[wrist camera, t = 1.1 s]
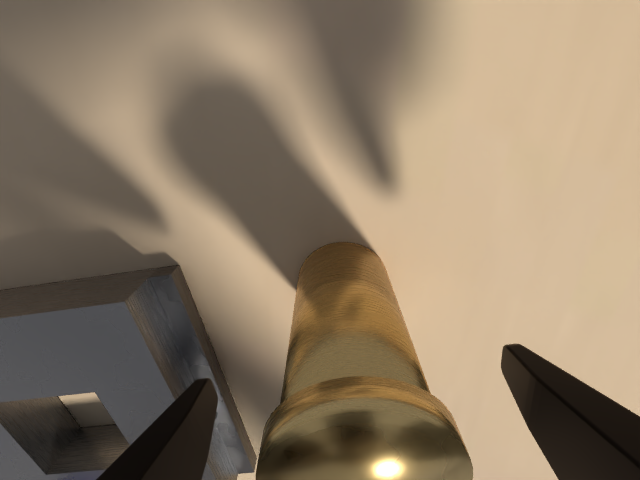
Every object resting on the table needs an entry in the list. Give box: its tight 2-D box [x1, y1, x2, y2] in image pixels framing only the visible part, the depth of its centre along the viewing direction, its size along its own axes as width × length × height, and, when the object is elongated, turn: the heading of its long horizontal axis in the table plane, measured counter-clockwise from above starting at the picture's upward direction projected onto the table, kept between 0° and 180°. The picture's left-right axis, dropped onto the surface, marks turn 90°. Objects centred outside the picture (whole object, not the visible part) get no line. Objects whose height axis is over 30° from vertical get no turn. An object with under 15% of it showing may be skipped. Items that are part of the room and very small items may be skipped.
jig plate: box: [0, 265, 257, 480], centre depth 16 cm, size 14×14×2 cm
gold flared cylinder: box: [256, 242, 473, 480], centre depth 10 cm, size 5×5×8 cm
